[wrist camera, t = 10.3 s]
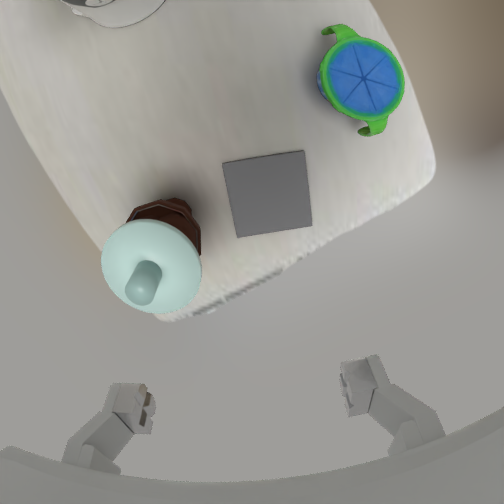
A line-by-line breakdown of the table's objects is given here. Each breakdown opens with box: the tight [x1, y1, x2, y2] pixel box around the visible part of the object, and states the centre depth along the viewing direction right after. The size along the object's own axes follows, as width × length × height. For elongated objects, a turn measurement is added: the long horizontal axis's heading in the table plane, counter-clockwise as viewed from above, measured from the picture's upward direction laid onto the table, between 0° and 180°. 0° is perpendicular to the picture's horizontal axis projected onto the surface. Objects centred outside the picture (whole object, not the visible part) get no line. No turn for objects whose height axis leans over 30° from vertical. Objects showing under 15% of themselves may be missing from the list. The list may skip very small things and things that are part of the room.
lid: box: [101, 219, 202, 314], centre depth 32 cm, size 12×12×5 cm
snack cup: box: [317, 24, 405, 136], centre depth 33 cm, size 16×10×10 cm
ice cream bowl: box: [126, 198, 201, 256], centre depth 40 cm, size 11×11×15 cm
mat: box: [222, 151, 312, 238], centre depth 46 cm, size 12×12×1 cm
